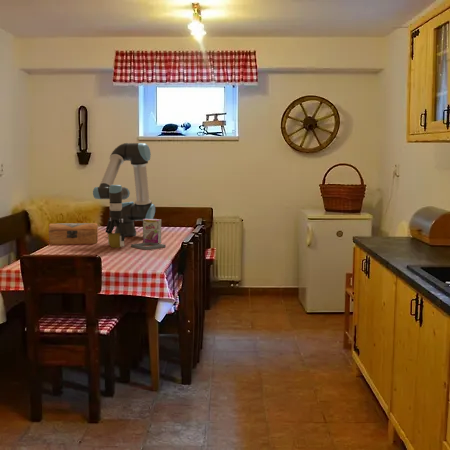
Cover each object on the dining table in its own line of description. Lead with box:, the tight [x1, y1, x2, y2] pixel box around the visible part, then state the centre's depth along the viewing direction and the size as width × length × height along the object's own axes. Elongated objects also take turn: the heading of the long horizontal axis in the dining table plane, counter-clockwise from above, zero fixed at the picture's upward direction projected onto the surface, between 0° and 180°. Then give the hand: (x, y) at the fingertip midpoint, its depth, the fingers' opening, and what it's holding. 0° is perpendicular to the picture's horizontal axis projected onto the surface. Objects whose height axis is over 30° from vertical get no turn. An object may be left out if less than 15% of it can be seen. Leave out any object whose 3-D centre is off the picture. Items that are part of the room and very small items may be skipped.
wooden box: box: [48, 222, 99, 245], centre depth 389 cm, size 30×16×14 cm, turn 101°
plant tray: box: [130, 242, 167, 251], centre depth 375 cm, size 15×15×2 cm
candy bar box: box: [142, 218, 162, 244], centre depth 392 cm, size 11×5×16 cm, turn 71°
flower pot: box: [107, 232, 121, 249], centre depth 374 cm, size 9×9×9 cm
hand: (116, 245), depth 375 cm, fingers closed on flower pot, 12 cm apart
